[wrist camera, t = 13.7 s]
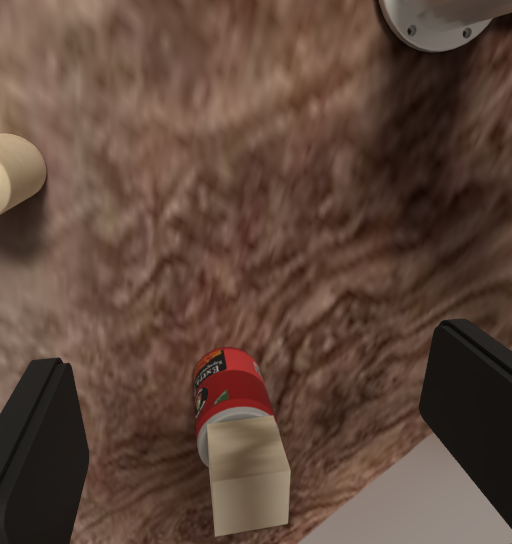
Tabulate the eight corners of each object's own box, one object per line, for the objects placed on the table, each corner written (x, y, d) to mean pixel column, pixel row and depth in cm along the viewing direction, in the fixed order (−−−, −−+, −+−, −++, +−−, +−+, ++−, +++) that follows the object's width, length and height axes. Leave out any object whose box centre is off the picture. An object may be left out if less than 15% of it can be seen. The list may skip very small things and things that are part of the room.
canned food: (210, 335, 44) (220, 401, 34) (270, 358, 47) (296, 425, 37) (181, 388, 46) (182, 465, 36) (240, 407, 49) (257, 483, 39)
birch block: (273, 415, 36) (290, 470, 30) (271, 464, 38) (287, 523, 32) (206, 424, 35) (212, 482, 29) (209, 473, 37) (215, 536, 31)
